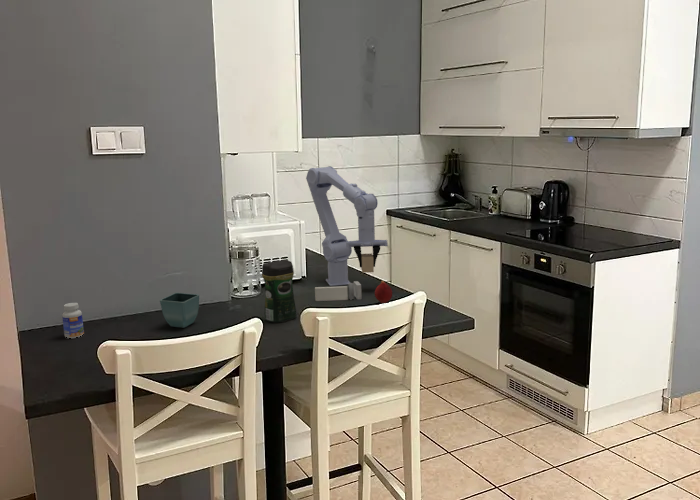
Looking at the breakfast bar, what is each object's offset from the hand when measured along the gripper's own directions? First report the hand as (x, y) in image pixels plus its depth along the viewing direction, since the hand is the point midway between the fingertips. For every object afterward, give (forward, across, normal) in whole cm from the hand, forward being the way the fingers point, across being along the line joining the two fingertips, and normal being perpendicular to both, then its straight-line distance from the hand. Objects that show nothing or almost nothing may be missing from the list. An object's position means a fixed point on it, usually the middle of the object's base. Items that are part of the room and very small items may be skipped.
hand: (367, 266), depth 233 cm
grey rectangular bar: (+9, -13, -10) cm, 19 cm away
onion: (+9, +4, -18) cm, 20 cm away
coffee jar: (+9, -29, -30) cm, 43 cm away
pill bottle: (+9, -90, -38) cm, 98 cm away
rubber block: (+1, 0, 0) cm, 1 cm away
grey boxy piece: (+9, -5, -8) cm, 13 cm away
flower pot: (+9, -59, -32) cm, 68 cm away
